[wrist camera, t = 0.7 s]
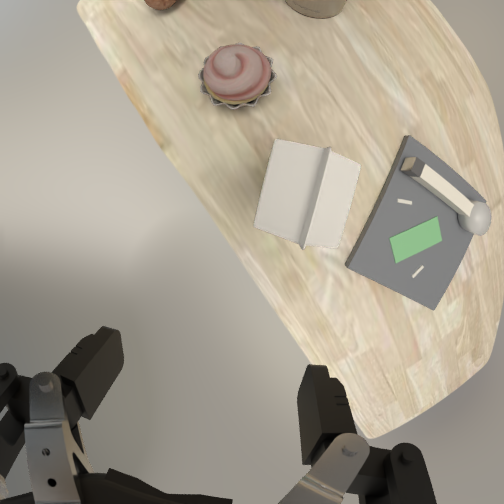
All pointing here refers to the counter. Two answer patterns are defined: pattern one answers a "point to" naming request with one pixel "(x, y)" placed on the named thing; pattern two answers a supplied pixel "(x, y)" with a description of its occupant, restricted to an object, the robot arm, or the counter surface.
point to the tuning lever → (450, 196)
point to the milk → (306, 194)
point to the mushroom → (160, 4)
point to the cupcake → (237, 76)
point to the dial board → (413, 232)
